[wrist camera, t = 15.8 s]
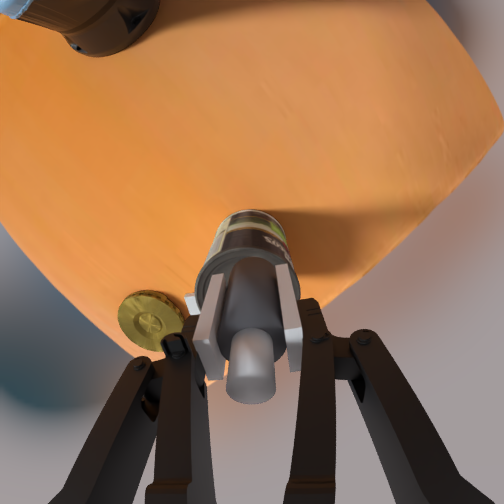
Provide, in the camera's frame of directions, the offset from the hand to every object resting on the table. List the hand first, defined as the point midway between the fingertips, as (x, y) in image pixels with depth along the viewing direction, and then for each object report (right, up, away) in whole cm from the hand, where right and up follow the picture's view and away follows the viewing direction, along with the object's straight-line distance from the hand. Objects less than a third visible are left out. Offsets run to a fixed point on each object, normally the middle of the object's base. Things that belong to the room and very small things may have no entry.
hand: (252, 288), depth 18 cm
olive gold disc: (-17, -9, +28) cm, 34 cm away
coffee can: (0, +4, +22) cm, 22 cm away
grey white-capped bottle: (0, 0, +2) cm, 2 cm away
